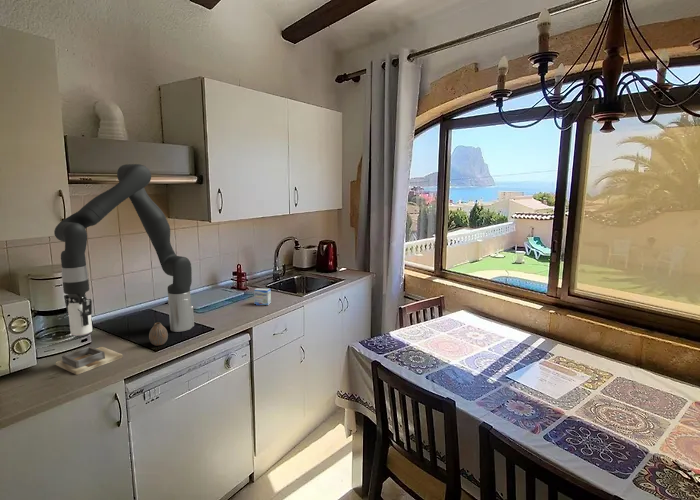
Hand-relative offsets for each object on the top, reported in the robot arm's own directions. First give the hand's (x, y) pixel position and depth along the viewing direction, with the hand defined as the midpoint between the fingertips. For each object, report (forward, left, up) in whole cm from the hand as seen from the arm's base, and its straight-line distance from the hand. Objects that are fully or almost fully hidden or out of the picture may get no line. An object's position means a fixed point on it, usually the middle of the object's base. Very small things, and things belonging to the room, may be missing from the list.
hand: (80, 324), depth 141 cm
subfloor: (-2, 0, -15) cm, 15 cm away
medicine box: (-87, +7, -15) cm, 89 cm away
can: (0, 0, -3) cm, 3 cm away
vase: (-25, +7, -15) cm, 30 cm away
